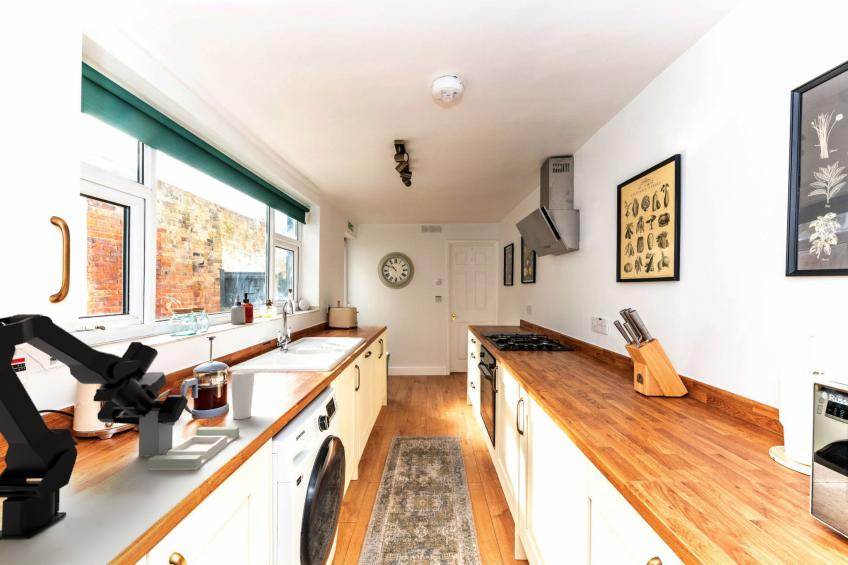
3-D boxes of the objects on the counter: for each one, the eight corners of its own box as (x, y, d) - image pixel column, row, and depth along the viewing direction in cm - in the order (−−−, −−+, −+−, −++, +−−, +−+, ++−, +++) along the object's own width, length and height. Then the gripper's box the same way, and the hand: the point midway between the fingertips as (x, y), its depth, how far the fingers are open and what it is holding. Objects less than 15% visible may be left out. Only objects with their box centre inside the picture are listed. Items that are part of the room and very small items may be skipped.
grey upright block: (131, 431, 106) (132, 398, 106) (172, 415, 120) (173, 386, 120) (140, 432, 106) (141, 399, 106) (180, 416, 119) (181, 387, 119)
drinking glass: (232, 415, 120) (233, 370, 121) (254, 413, 122) (255, 369, 123) (228, 422, 114) (229, 374, 114) (251, 419, 116) (252, 373, 116)
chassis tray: (196, 469, 83) (196, 459, 83) (148, 470, 83) (148, 459, 83) (239, 435, 103) (239, 426, 103) (200, 435, 103) (200, 426, 103)
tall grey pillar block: (158, 455, 90) (159, 407, 91) (138, 455, 90) (139, 407, 91) (172, 447, 95) (173, 401, 96) (153, 447, 95) (154, 401, 96)
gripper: (184, 363, 90) (209, 395, 100) (108, 364, 89) (141, 395, 100) (160, 405, 82) (190, 435, 92) (77, 405, 81) (117, 435, 92)
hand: (160, 423), depth 94 cm, fingers open, 7 cm apart
